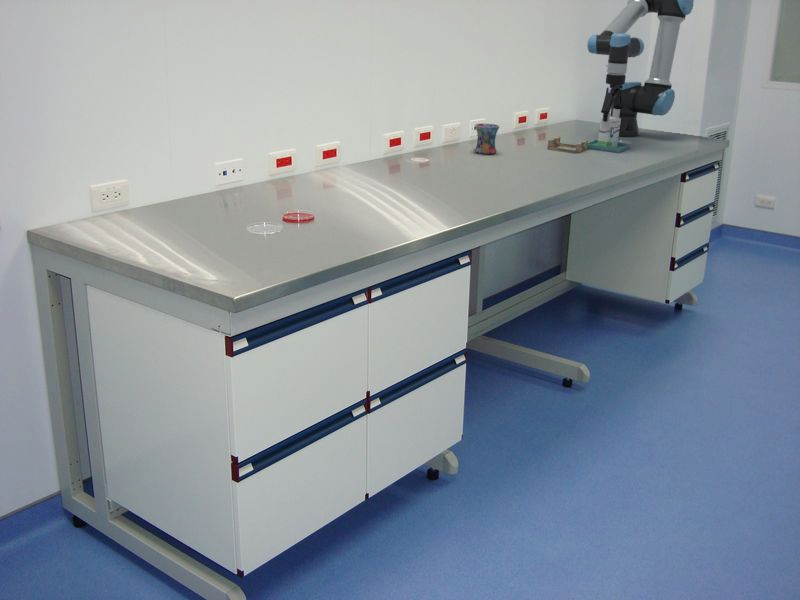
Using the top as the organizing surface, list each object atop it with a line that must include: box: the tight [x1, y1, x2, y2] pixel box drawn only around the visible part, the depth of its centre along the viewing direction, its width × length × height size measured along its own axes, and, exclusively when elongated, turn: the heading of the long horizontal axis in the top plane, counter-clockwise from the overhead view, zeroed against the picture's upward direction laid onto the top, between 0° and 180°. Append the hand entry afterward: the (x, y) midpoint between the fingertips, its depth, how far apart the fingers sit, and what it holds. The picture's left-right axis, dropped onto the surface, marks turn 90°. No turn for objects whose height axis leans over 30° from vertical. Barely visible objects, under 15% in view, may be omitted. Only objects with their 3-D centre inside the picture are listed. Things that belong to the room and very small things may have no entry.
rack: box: [547, 136, 589, 154], centre depth 341 cm, size 13×13×4 cm
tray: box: [586, 139, 631, 154], centre depth 348 cm, size 14×15×2 cm
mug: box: [474, 123, 500, 155], centre depth 326 cm, size 12×9×11 cm
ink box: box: [597, 117, 621, 147], centre depth 346 cm, size 9×5×12 cm, turn 136°
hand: (609, 127), depth 345 cm, fingers open, 13 cm apart
